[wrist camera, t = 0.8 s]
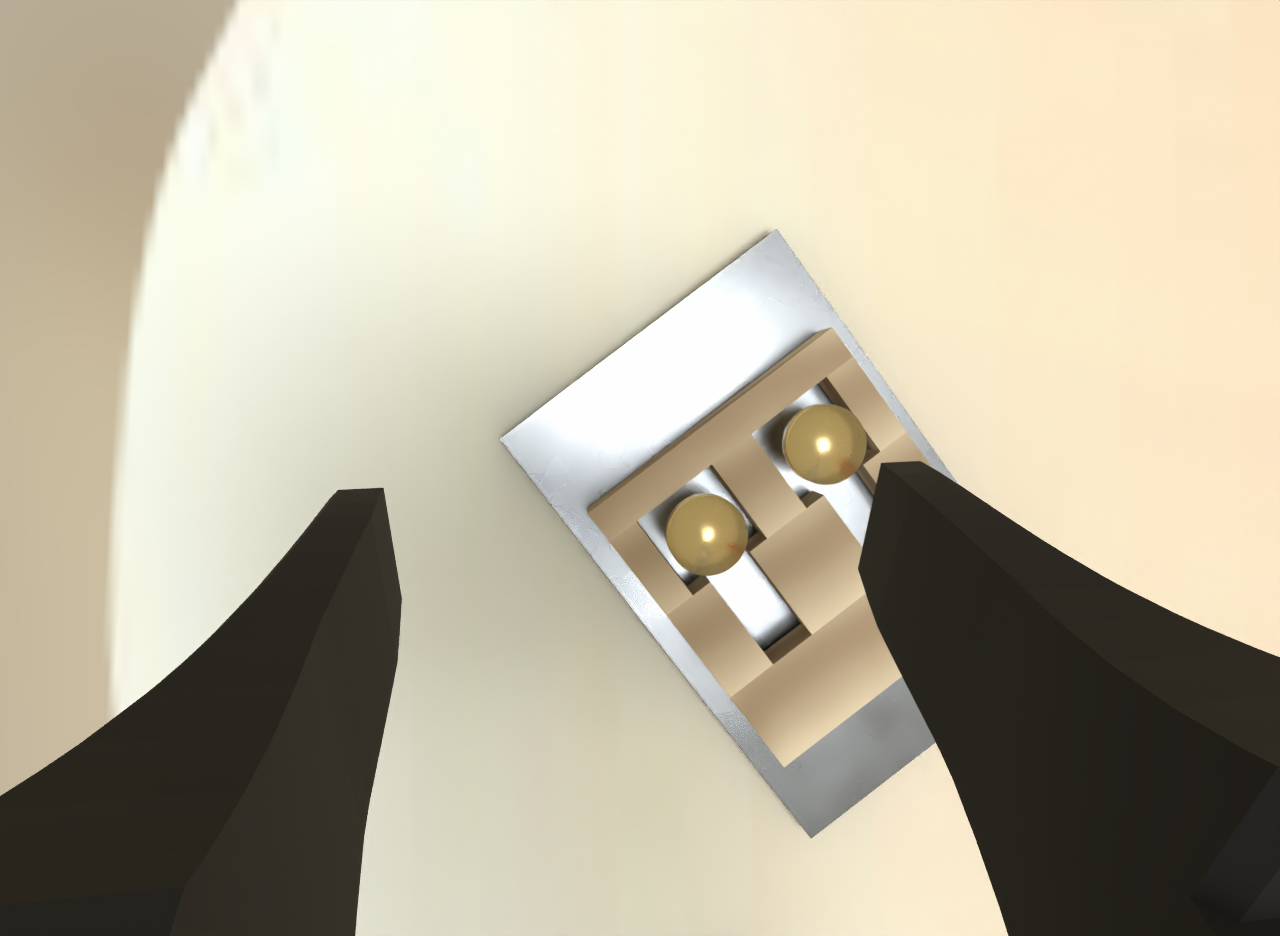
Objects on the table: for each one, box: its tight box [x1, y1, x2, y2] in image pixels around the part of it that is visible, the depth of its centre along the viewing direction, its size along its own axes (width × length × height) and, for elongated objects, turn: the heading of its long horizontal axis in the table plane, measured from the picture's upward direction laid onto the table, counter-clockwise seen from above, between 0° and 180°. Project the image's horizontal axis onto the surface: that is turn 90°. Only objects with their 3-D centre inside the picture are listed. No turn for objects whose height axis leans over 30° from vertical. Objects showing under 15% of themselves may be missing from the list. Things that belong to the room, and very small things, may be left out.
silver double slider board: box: [500, 229, 958, 838], centre depth 33 cm, size 20×13×4 cm, turn 37°
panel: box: [587, 327, 931, 767], centre depth 33 cm, size 12×11×2 cm
